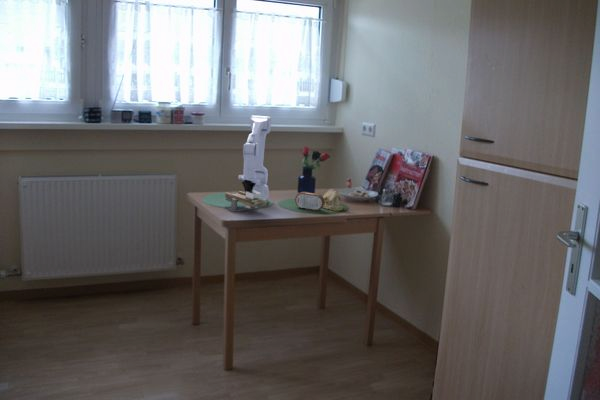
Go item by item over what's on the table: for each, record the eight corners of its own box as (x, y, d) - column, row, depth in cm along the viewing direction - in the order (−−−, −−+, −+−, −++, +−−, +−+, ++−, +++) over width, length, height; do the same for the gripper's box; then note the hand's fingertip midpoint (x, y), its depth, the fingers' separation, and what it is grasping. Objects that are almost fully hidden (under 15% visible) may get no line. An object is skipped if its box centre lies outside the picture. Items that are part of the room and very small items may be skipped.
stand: (251, 206, 301) (251, 195, 299) (257, 208, 297) (258, 197, 296) (228, 209, 291) (228, 198, 290) (234, 211, 288) (235, 200, 286)
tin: (324, 210, 303) (325, 194, 301) (322, 211, 300) (323, 195, 298) (296, 206, 307) (297, 190, 306) (293, 208, 304) (295, 191, 303)
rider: (253, 198, 291) (254, 190, 290) (261, 201, 287) (261, 193, 286) (245, 199, 288) (245, 191, 287) (252, 202, 284) (253, 194, 283)
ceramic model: (316, 205, 315) (317, 186, 313) (335, 204, 319) (336, 186, 317) (329, 211, 302) (330, 191, 300) (348, 210, 307) (350, 191, 305)
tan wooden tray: (240, 198, 303) (240, 189, 302) (268, 208, 288) (268, 199, 287) (224, 200, 297) (224, 191, 296) (252, 210, 281) (252, 201, 280)
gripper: (233, 166, 290) (232, 194, 293) (252, 171, 280) (250, 199, 282) (245, 165, 295) (244, 192, 297) (264, 170, 284) (262, 198, 287)
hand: (248, 196), depth 290 cm, fingers closed
